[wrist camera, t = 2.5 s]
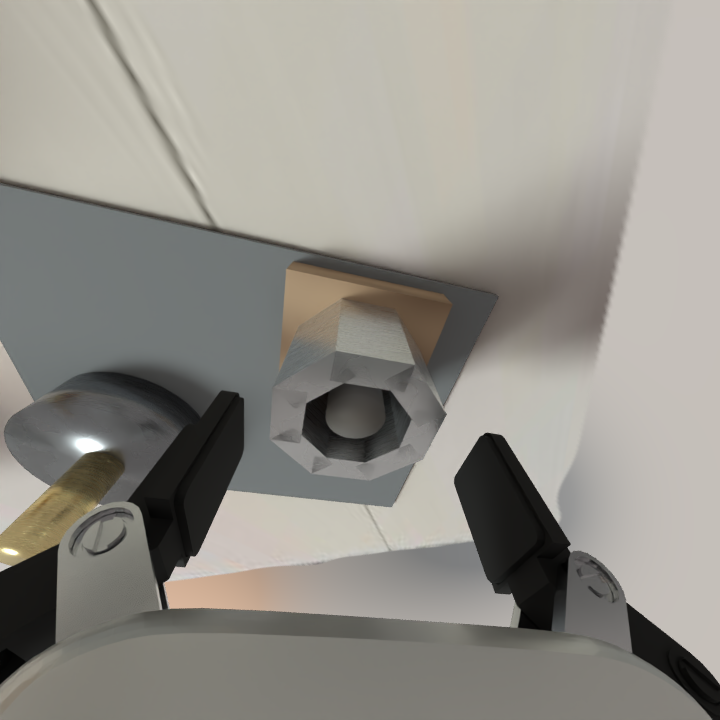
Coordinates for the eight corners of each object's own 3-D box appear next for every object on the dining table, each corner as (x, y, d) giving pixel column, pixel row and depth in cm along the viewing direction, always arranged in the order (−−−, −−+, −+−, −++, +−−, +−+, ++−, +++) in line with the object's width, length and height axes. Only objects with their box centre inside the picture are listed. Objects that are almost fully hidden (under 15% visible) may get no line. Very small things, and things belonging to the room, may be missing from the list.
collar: (302, 289, 12) (275, 339, 8) (431, 316, 13) (468, 374, 9) (291, 394, 16) (267, 468, 11) (395, 410, 17) (409, 485, 12)
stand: (293, 261, 13) (254, 304, 8) (443, 294, 14) (493, 350, 9) (282, 386, 17) (252, 468, 12) (399, 404, 18) (417, 487, 13)
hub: (28, 359, 16) (-213, 481, 9) (203, 385, 17) (106, 510, 10) (82, 463, 21) (-47, 591, 14) (214, 478, 22) (153, 601, 16)
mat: (-85, 163, 11) (-99, 162, 11) (495, 294, 15) (498, 296, 14) (78, 469, 22) (74, 473, 22) (391, 503, 26) (391, 507, 25)
